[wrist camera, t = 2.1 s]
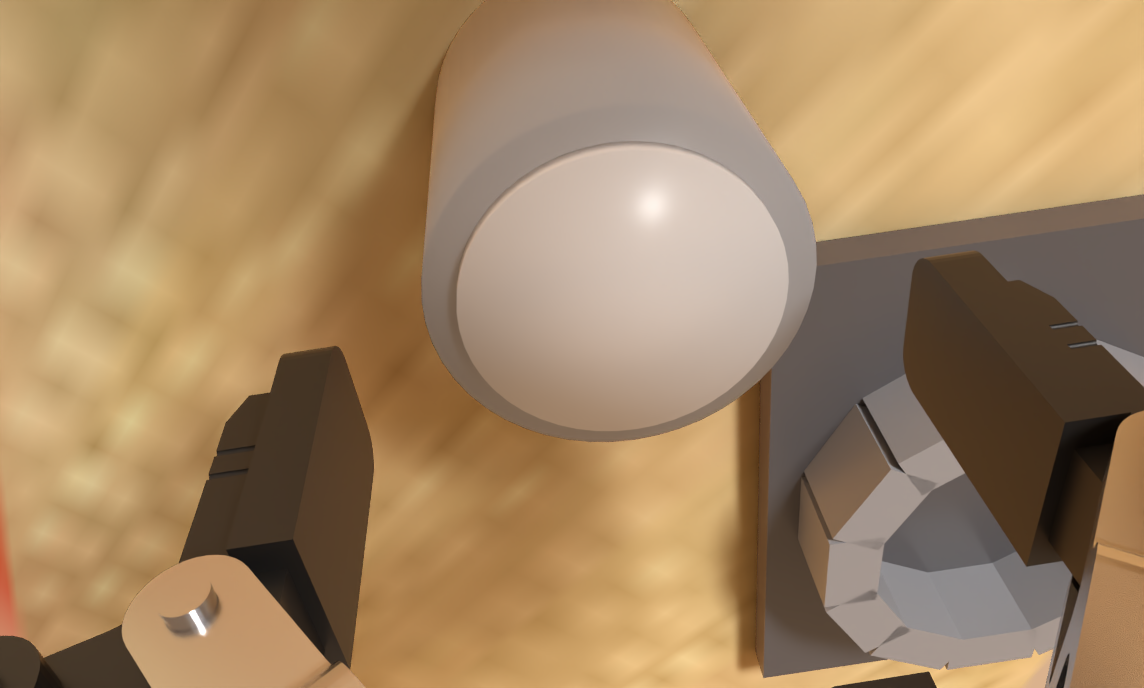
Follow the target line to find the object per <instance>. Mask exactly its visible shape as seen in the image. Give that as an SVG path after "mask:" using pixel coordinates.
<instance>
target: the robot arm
mask: <svg viewBox="0 0 1144 688" xmlns="http://www.w3.org/2000/svg"><path fill="white" fill-rule="evenodd" d="M903 363H904V369H905V374H906V378H907V381H908V384H909V386H910V388H911V391H912V392H913V394H914V396H915V397H916V399H917V400H918V402H919V403H920V405H921V406H922V408H923V409H924V411H925V412H926V414H927V415H928V417H929V418H930V420H931V422H932V423H933V425H934V426H935V428H936V429H937V431H938V432H939V434H940V435H941V437H942V438H943V440H944V441H945V443H946V444H947V446H948V448H949V449H950V451H951V452H952V454H953V455H954V457H955V458H956V460H957V461H958V463H959V464H960V466H961V467H962V469H963V471H964V472H965V474H966V475H967V477H968V478H969V480H970V481H971V483H972V484H973V486H974V487H975V489H976V490H977V492H978V493H979V495H980V497H981V498H982V500H983V501H984V503H985V504H986V506H987V507H988V509H989V510H990V512H991V513H992V515H993V516H994V518H995V519H996V521H997V523H998V524H999V526H1000V527H1001V529H1002V530H1003V532H1004V533H1005V535H1006V536H1007V538H1008V539H1009V541H1010V542H1011V544H1012V545H1013V547H1014V549H1015V550H1016V552H1017V553H1018V555H1019V556H1020V558H1021V559H1022V561H1023V562H1024V564H1025V565H1026V567H1028V566H1035V565H1041V564H1047V563H1054V562H1060V561H1063V562H1064V564H1065V565H1066V567H1067V568H1068V569H1069V571H1070V572H1071V574H1072V576H1071V579H1070V582H1069V585H1068V588H1067V591H1066V596H1065V600H1064V605H1063V609H1062V614H1061V618H1060V623H1059V627H1058V632H1057V636H1056V641H1055V645H1054V650H1053V654H1052V658H1051V663H1050V668H1049V672H1048V676H1047V681H1046V685H1045V688H1144V387H1143V386H1142V385H1141V384H1140V383H1139V382H1138V381H1137V380H1136V379H1135V378H1134V377H1133V376H1132V375H1131V374H1130V373H1129V372H1128V371H1127V370H1126V369H1125V368H1124V367H1123V366H1122V365H1121V364H1120V363H1119V362H1118V361H1117V360H1116V359H1115V358H1114V357H1113V356H1112V355H1111V354H1110V353H1109V352H1108V351H1107V350H1106V349H1105V348H1104V347H1103V346H1102V345H1097V340H1096V339H1095V338H1094V337H1093V336H1092V335H1091V334H1090V333H1089V332H1088V331H1087V330H1086V329H1085V328H1084V327H1083V326H1078V321H1077V320H1076V319H1075V318H1074V317H1073V316H1072V315H1071V314H1070V313H1069V312H1068V311H1067V310H1066V309H1065V308H1064V307H1063V306H1062V305H1061V304H1060V303H1059V302H1058V301H1057V300H1056V299H1055V298H1054V297H1052V296H1050V295H1048V294H1046V293H1044V292H1043V291H1041V290H1039V289H1037V288H1035V287H1033V286H1031V285H1029V284H1027V283H1025V282H1023V281H1021V280H1014V281H1007V280H1006V279H1005V278H1004V277H1003V276H1002V275H1001V274H1000V273H999V272H998V271H997V270H996V269H995V268H994V267H993V266H992V264H991V263H990V262H989V261H988V260H987V259H986V258H985V257H984V256H983V255H982V254H981V253H979V252H978V251H974V250H973V251H967V252H960V253H953V254H947V255H940V256H934V257H927V258H921V259H919V260H918V261H917V262H916V264H915V266H914V269H913V272H912V279H911V287H910V296H909V304H908V312H907V320H906V329H905V337H904V345H903ZM373 473H374V459H373V449H372V443H371V438H370V433H369V430H368V426H367V423H366V420H365V417H364V414H363V411H362V408H361V405H360V402H359V399H358V396H357V393H356V390H355V387H354V384H353V381H352V378H351V375H350V372H349V369H348V366H347V363H346V360H345V357H344V355H343V353H342V351H341V349H340V348H339V347H337V346H333V347H327V348H320V349H314V350H307V351H301V352H294V353H287V354H283V355H282V356H281V358H280V360H279V364H278V367H277V371H276V374H275V378H274V381H273V385H272V388H271V392H270V393H264V394H258V395H251V396H249V397H248V398H247V399H246V400H245V401H244V403H243V404H242V405H241V406H240V407H239V408H238V409H237V411H236V412H235V413H234V414H233V415H232V416H231V418H230V419H229V420H228V421H227V422H226V424H225V427H224V430H223V433H222V436H221V439H220V442H219V445H218V448H217V456H216V457H214V460H213V463H212V466H211V469H210V472H209V480H207V481H206V484H205V487H204V490H203V493H202V496H201V499H200V502H199V505H198V508H197V511H196V514H195V517H194V520H193V523H192V526H191V529H190V532H189V535H188V538H187V541H186V544H185V546H184V549H183V552H182V555H181V558H180V561H179V564H176V565H174V566H172V567H171V568H169V569H167V570H165V571H163V572H162V573H161V574H159V575H158V576H156V577H155V578H154V579H152V580H151V581H150V582H149V583H148V584H147V585H145V586H144V587H143V589H142V590H141V591H140V592H139V593H138V594H137V595H136V597H135V598H134V599H133V601H132V602H131V604H130V605H129V607H128V609H127V611H126V613H125V616H124V619H123V624H122V625H120V626H118V627H116V628H114V629H112V630H110V631H108V632H106V633H103V634H101V635H98V636H96V637H93V638H91V639H89V640H86V641H84V642H81V643H79V644H76V645H74V646H72V647H69V648H67V649H64V650H62V651H59V652H57V653H55V654H52V655H50V656H47V657H45V658H43V656H42V655H41V654H40V653H39V651H38V650H37V649H36V647H35V646H34V645H33V644H32V643H31V642H29V641H27V640H25V639H23V638H20V637H15V636H0V688H365V686H364V685H363V684H362V683H361V682H360V681H359V679H358V678H357V677H356V676H355V675H354V674H353V673H352V672H351V670H350V667H351V658H352V650H353V642H354V633H355V625H356V616H357V608H358V600H359V591H360V583H361V575H362V566H363V558H364V550H365V541H366V533H367V524H368V516H369V508H370V499H371V491H372V483H373ZM832 688H937V687H936V685H935V683H934V681H933V679H932V677H931V675H930V673H929V672H924V673H917V674H911V675H904V676H898V677H892V678H885V679H879V680H873V681H866V682H860V683H854V684H847V685H841V686H835V687H832Z"/></svg>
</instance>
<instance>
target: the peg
mask: <svg viewBox="0 0 1144 688" xmlns="http://www.w3.org/2000/svg"><path fill="white" fill-rule="evenodd" d="M816 267H817V261H816V240H815V235H814V229H813V223H812V220H811V217H810V214H809V211H808V209H807V206H806V203H805V200H804V199H803V197H802V195H801V193H800V191H799V189H798V188H797V186H796V184H795V182H794V180H793V179H792V177H791V176H790V174H789V173H788V171H787V170H786V168H785V167H784V165H783V163H782V162H781V160H780V159H779V157H778V156H777V154H776V153H775V151H774V150H773V148H772V147H771V145H770V144H769V142H768V140H767V139H766V137H765V136H764V134H763V133H762V131H761V130H760V128H759V127H758V125H757V124H756V122H755V121H754V119H753V117H752V116H751V114H750V113H749V111H748V110H747V108H746V107H745V105H744V104H743V102H742V101H741V99H740V98H739V96H738V94H737V93H736V91H735V90H734V88H733V87H732V85H731V84H730V82H729V81H728V79H727V78H726V76H725V75H724V73H723V72H722V70H721V68H720V67H719V65H718V64H717V62H716V61H715V59H714V58H713V56H712V55H711V53H710V52H709V50H708V49H707V47H706V45H705V44H704V42H703V41H702V39H701V38H700V36H699V35H698V33H697V32H696V30H695V29H694V27H693V26H692V24H691V23H690V22H689V20H688V19H687V18H686V16H685V15H684V14H683V12H682V11H681V10H680V9H679V8H678V7H677V6H676V5H675V4H674V3H673V2H672V1H671V0H486V1H484V2H483V3H482V4H481V5H480V6H479V7H478V8H477V9H476V10H475V11H474V12H473V13H472V14H471V15H470V17H469V18H468V19H467V20H466V21H465V23H464V24H463V25H462V26H461V28H460V29H459V31H458V33H457V34H456V36H455V38H454V39H453V41H452V43H451V44H450V47H449V49H448V51H447V54H446V56H445V58H444V60H443V64H442V67H441V71H440V75H439V78H438V85H437V92H436V102H435V114H434V127H433V139H432V152H431V165H430V177H429V190H428V202H427V215H426V228H425V240H424V253H423V265H422V278H421V286H422V306H423V312H424V317H425V323H426V326H427V329H428V332H429V335H430V338H431V341H432V344H433V346H434V347H435V349H436V351H437V353H438V355H439V357H440V359H441V361H442V363H443V364H444V365H445V367H446V368H447V370H448V371H449V372H450V374H451V375H452V376H453V378H454V379H455V380H456V381H457V382H458V383H459V384H460V385H461V386H462V388H463V389H464V390H465V391H466V392H467V393H468V394H469V395H470V396H472V397H473V398H474V399H475V400H477V401H478V402H479V403H481V404H482V405H483V406H484V407H486V408H487V409H489V410H490V411H492V412H494V413H495V414H497V415H499V416H500V417H502V418H504V419H505V420H508V421H510V422H512V423H514V424H517V425H519V426H521V427H523V428H526V429H529V430H532V431H535V432H538V433H541V434H544V435H548V436H553V437H558V438H563V439H568V440H578V441H588V442H614V441H624V440H635V439H640V438H645V437H650V436H655V435H659V434H663V433H666V432H670V431H673V430H676V429H680V428H682V427H685V426H687V425H689V424H692V423H694V422H697V421H699V420H702V419H703V418H705V417H707V416H709V415H711V414H713V413H715V412H717V411H719V410H721V409H722V408H724V407H725V406H727V405H728V404H730V403H731V402H733V401H734V400H736V399H737V398H739V397H740V396H742V395H743V394H744V393H745V392H746V391H748V390H749V389H750V388H751V387H753V386H754V385H755V384H756V383H757V382H759V380H760V379H761V378H762V377H763V376H764V375H765V374H766V373H767V372H768V371H769V370H770V369H771V368H772V367H773V366H774V365H775V364H776V362H777V361H778V360H779V359H780V357H781V356H782V355H783V353H784V352H785V351H786V350H787V348H788V347H789V345H790V343H791V342H792V340H793V338H794V337H795V335H796V333H797V332H798V330H799V328H800V326H801V323H802V321H803V319H804V316H805V314H806V312H807V310H808V306H809V303H810V299H811V296H812V292H813V289H814V282H815V275H816Z"/></svg>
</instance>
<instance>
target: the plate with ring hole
mask: <svg viewBox="0 0 1144 688" xmlns="http://www.w3.org/2000/svg"><path fill="white" fill-rule="evenodd" d="M973 250H974V251H978V252H979V253H981V254H982V255H983V256H984V257H985V258H986V259H987V260H988V261H989V262H990V263H991V264H992V266H993V267H994V268H995V269H996V270H997V271H998V272H999V273H1000V274H1001V275H1002V276H1003V277H1004V278H1005V279H1006V280H1007V281H1014V280H1021V281H1023V282H1025V283H1027V284H1029V285H1031V286H1033V287H1035V288H1037V289H1039V290H1041V291H1043V292H1044V293H1046V294H1048V295H1050V296H1052V297H1054V298H1055V299H1056V300H1057V301H1058V302H1059V303H1060V304H1061V305H1062V306H1063V307H1064V308H1065V309H1066V310H1067V311H1068V312H1069V313H1070V314H1071V315H1072V316H1073V317H1074V318H1075V319H1076V320H1077V321H1078V326H1083V327H1084V328H1085V329H1086V330H1087V331H1088V332H1089V333H1090V334H1091V335H1092V336H1093V337H1094V338H1095V339H1096V340H1097V345H1102V346H1103V347H1104V348H1105V349H1106V350H1107V351H1108V352H1109V353H1110V354H1111V355H1112V356H1113V357H1114V358H1115V359H1116V360H1117V361H1118V362H1119V363H1120V364H1121V365H1122V366H1123V367H1124V368H1125V369H1126V370H1127V371H1128V372H1129V373H1130V374H1131V375H1132V376H1133V377H1134V378H1135V379H1136V380H1137V381H1138V382H1139V383H1140V384H1141V385H1142V386H1143V387H1144V195H1138V196H1131V197H1124V198H1117V199H1110V200H1103V201H1096V202H1089V203H1082V204H1076V205H1069V206H1062V207H1055V208H1048V209H1041V210H1034V211H1027V212H1021V213H1014V214H1007V215H1000V216H993V217H986V218H979V219H972V220H966V221H959V222H952V223H945V224H938V225H931V226H924V227H917V228H911V229H904V230H897V231H890V232H883V233H876V234H869V235H862V236H855V237H849V238H842V239H835V240H828V241H821V242H816V261H817V267H816V275H815V282H814V289H813V292H812V296H811V299H810V303H809V306H808V310H807V312H806V314H805V316H804V319H803V321H802V323H801V326H800V328H799V330H798V332H797V333H796V335H795V337H794V338H793V340H792V342H791V343H790V345H789V347H788V348H787V350H786V351H785V352H784V353H783V355H782V356H781V357H780V359H779V360H778V361H777V362H776V364H775V365H774V366H773V367H772V368H771V369H770V370H769V371H768V372H767V373H766V374H765V375H764V376H763V377H762V378H761V379H760V432H759V490H758V547H757V605H756V655H757V658H758V661H759V665H760V668H761V672H762V675H763V678H766V677H773V676H779V675H786V674H793V673H799V672H806V671H813V670H820V669H826V668H833V667H840V666H846V665H853V664H860V663H867V662H873V661H880V660H887V659H890V660H895V661H900V662H905V663H910V664H915V665H920V666H924V667H929V668H934V669H939V670H940V669H941V668H942V667H943V666H944V665H945V667H946V669H947V670H949V669H956V668H962V667H969V666H976V665H982V664H989V663H996V662H1002V661H1009V660H1016V659H1023V658H1029V657H1032V654H1033V651H1034V649H1035V650H1036V651H1037V653H1038V654H1039V655H1040V654H1042V653H1045V652H1047V651H1049V650H1051V649H1054V645H1055V641H1056V636H1057V632H1058V627H1059V623H1060V618H1061V614H1062V609H1063V605H1064V600H1065V596H1066V591H1067V588H1068V585H1069V582H1070V579H1071V576H1072V574H1071V572H1070V571H1069V569H1068V568H1067V567H1066V565H1065V564H1064V562H1063V561H1060V562H1054V563H1047V564H1041V565H1035V566H1028V567H1026V565H1025V564H1024V562H1023V561H1022V559H1021V558H1020V556H1019V555H1018V553H1017V552H1016V550H1015V549H1014V547H1013V545H1012V544H1011V542H1010V541H1009V539H1008V538H1007V536H1006V535H1005V533H1004V532H1003V530H1002V529H1001V527H1000V526H999V524H998V523H997V521H996V519H995V518H994V516H993V515H992V513H991V512H990V510H989V509H988V507H987V506H986V504H985V503H984V501H983V500H982V498H981V497H980V495H979V493H978V492H977V490H976V489H975V487H974V486H973V484H972V483H971V481H970V480H969V478H968V477H967V475H966V474H965V472H964V471H963V469H962V467H961V466H960V464H959V463H958V461H957V460H956V458H955V457H954V455H953V454H952V452H951V451H950V449H949V448H948V446H947V444H946V443H945V441H944V440H943V438H942V437H941V435H940V434H939V432H938V431H937V429H936V428H935V426H934V425H933V423H932V422H931V420H930V418H929V417H928V415H927V414H926V412H925V411H924V409H923V408H922V406H921V405H920V403H919V402H918V400H917V399H916V397H915V396H914V394H913V392H912V391H911V388H910V386H909V384H908V381H907V378H906V374H905V369H904V363H903V345H904V337H905V329H906V320H907V312H908V304H909V296H910V287H911V279H912V272H913V269H914V266H915V264H916V262H917V261H918V260H919V259H921V258H927V257H934V256H940V255H947V254H953V253H960V252H967V251H973Z"/></svg>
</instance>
